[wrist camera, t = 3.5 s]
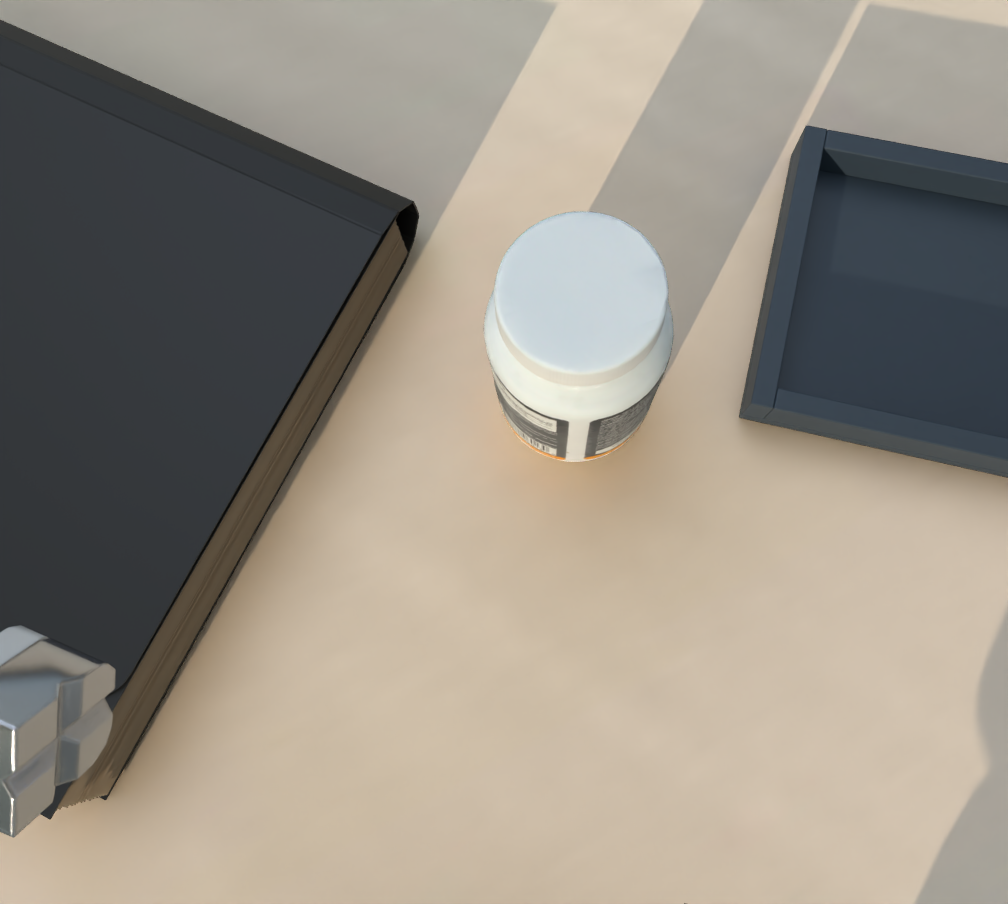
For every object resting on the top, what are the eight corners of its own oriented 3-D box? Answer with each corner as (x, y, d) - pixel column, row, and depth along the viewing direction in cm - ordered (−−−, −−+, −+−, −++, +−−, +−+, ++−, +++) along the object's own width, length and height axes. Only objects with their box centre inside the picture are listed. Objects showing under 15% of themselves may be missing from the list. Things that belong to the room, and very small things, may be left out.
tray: (1121, 217, 33) (1157, 190, 31) (1089, 496, 31) (1126, 486, 29) (791, 154, 34) (805, 124, 32) (738, 417, 32) (750, 403, 30)
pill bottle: (633, 310, 33) (669, 174, 23) (661, 454, 32) (710, 373, 22) (487, 333, 33) (462, 207, 23) (509, 477, 32) (492, 407, 22)
